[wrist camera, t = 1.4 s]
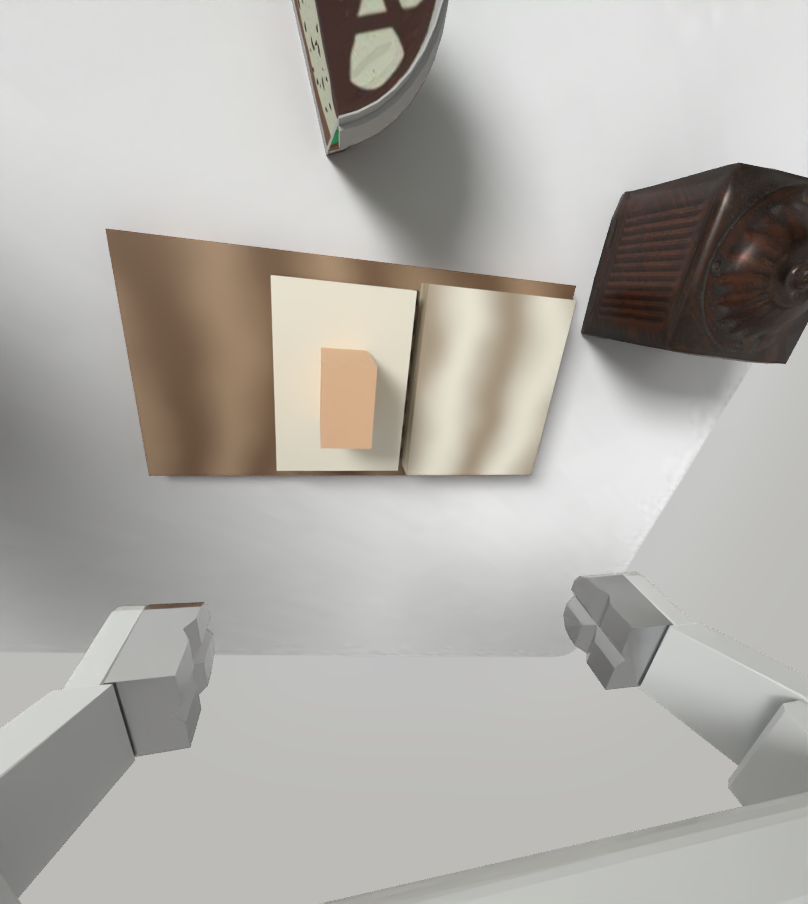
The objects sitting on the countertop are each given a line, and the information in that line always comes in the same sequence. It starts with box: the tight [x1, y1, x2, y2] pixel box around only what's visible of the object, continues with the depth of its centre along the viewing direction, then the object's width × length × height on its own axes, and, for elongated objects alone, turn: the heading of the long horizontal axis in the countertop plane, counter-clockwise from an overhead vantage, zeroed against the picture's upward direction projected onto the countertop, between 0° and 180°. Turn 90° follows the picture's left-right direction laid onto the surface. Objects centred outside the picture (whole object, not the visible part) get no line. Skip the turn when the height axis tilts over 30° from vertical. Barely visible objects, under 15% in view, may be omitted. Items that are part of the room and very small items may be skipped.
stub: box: [271, 275, 417, 471], centre depth 25 cm, size 9×13×7 cm
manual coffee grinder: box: [581, 163, 808, 364], centre depth 23 cm, size 16×11×18 cm
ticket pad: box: [106, 229, 577, 476], centre depth 29 cm, size 31×16×4 cm, turn 84°
